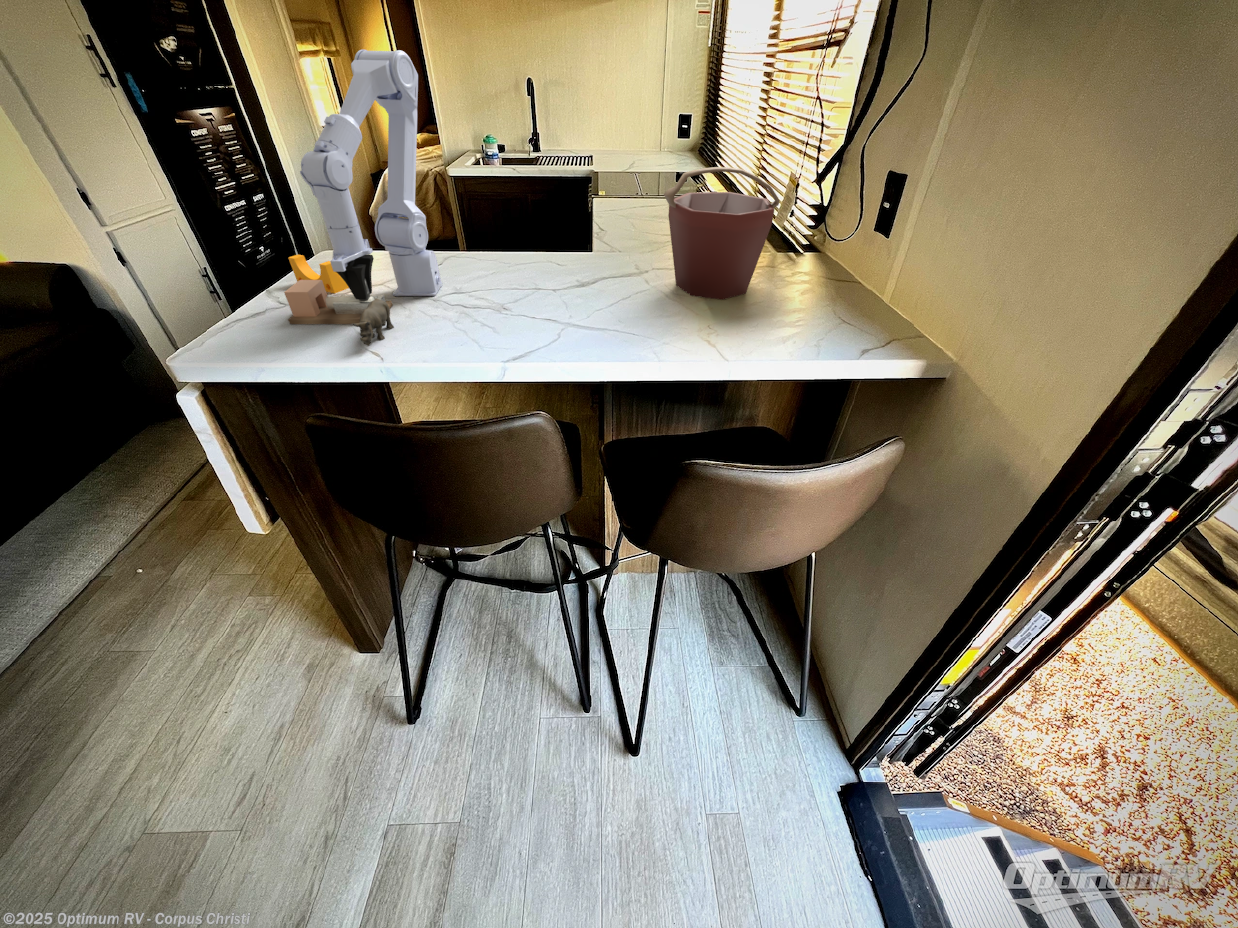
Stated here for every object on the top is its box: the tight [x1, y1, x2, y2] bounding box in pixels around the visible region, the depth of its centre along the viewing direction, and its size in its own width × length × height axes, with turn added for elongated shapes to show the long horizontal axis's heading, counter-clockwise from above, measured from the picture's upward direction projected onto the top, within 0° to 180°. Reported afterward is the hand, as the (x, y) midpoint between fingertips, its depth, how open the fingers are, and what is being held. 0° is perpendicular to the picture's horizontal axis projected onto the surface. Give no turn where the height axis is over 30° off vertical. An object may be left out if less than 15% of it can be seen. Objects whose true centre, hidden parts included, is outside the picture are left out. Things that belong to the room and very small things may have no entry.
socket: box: [283, 280, 329, 317], centre depth 105 cm, size 4×7×5 cm, turn 2°
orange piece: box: [287, 254, 349, 294], centre depth 118 cm, size 12×4×6 cm, turn 64°
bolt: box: [326, 279, 375, 309], centre depth 105 cm, size 9×2×6 cm, turn 92°
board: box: [287, 300, 394, 325], centre depth 107 cm, size 18×10×1 cm, turn 92°
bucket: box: [663, 166, 780, 301], centre depth 116 cm, size 24×22×25 cm
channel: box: [333, 294, 387, 314], centre depth 106 cm, size 9×5×2 cm, turn 92°
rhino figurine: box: [351, 298, 394, 347], centre depth 97 cm, size 4×14×6 cm, turn 2°
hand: (364, 296), depth 105 cm, fingers closed on bolt, 2 cm apart
